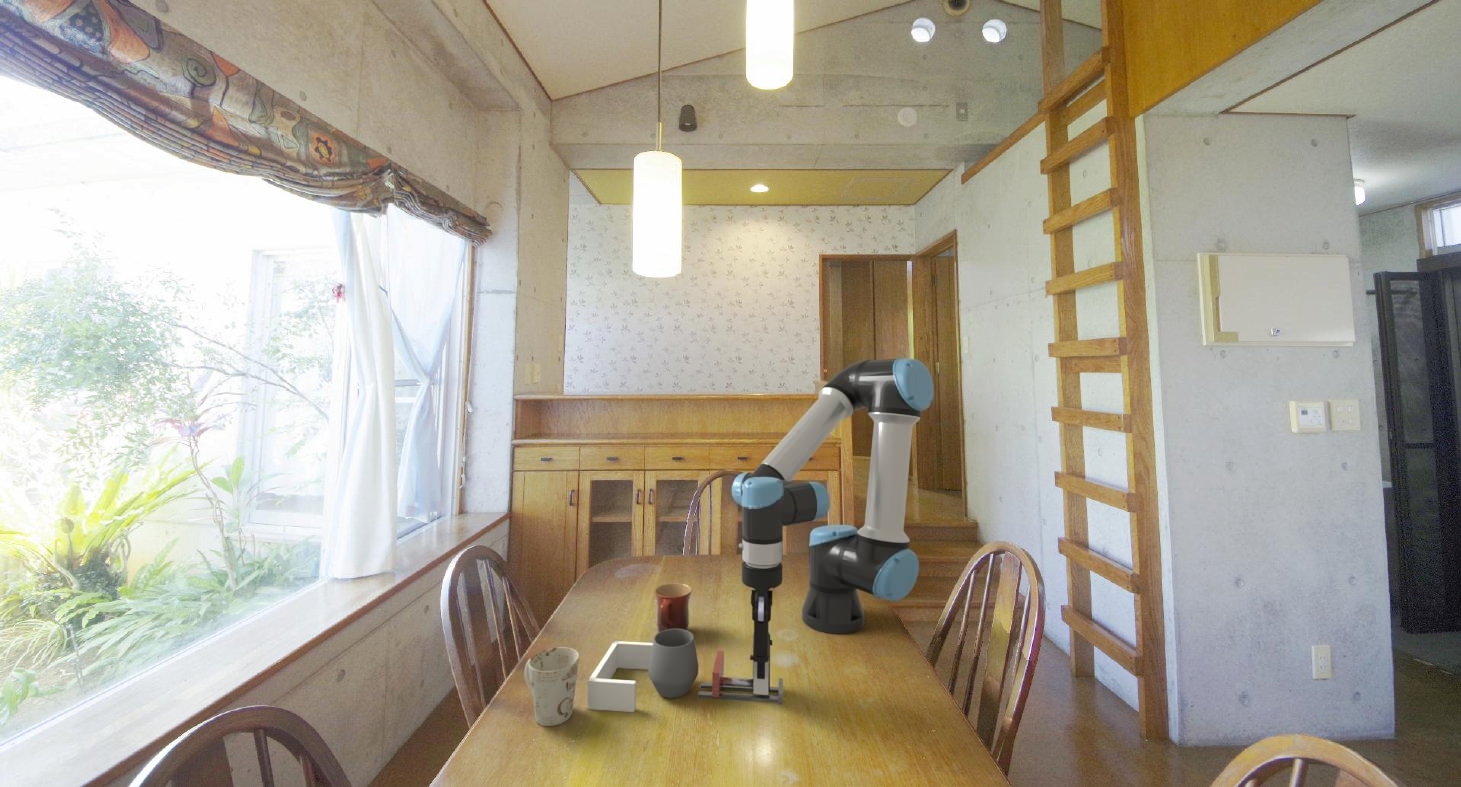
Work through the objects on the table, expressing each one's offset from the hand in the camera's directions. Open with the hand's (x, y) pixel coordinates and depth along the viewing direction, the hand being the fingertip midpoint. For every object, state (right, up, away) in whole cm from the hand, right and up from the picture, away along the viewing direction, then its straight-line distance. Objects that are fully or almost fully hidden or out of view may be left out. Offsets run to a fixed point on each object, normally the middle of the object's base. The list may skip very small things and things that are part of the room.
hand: (761, 686), depth 98 cm
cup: (-17, -2, +2) cm, 17 cm away
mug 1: (-38, -2, -5) cm, 39 cm away
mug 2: (-19, -1, +23) cm, 30 cm away
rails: (-4, -2, 0) cm, 4 cm away
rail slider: (-3, 0, 0) cm, 4 cm away
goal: (-26, -1, +3) cm, 26 cm away
